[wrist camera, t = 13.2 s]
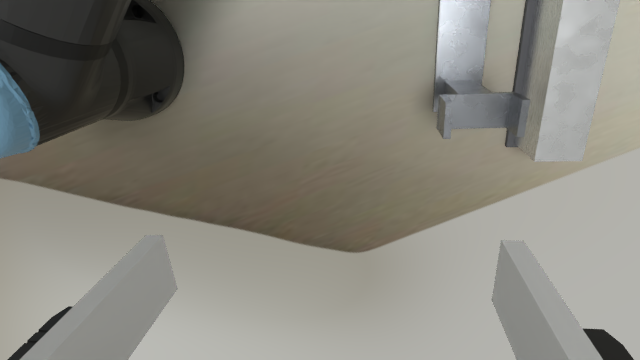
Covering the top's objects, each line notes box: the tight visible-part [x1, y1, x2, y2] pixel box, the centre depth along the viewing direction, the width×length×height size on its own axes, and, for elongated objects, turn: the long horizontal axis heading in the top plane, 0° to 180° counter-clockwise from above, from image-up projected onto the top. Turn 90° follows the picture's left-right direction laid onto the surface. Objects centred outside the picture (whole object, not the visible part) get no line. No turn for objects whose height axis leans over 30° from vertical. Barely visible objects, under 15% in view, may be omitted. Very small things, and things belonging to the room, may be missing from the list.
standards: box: [433, 0, 530, 139], centre depth 34 cm, size 7×20×12 cm, turn 4°
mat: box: [505, 0, 536, 147], centre depth 38 cm, size 6×27×1 cm, turn 4°
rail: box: [514, 0, 620, 162], centre depth 35 cm, size 4×26×6 cm, turn 4°
